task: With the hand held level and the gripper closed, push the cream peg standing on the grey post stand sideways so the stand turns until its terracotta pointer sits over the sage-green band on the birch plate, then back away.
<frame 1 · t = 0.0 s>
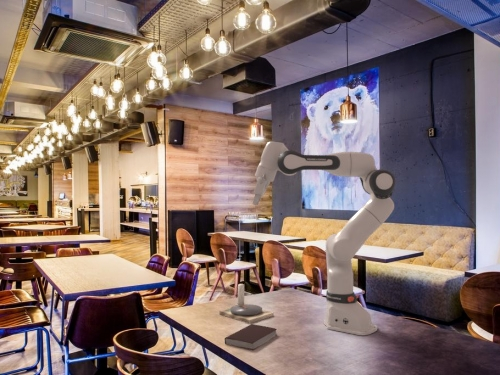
hand: (255, 204, 172), 52 cm above the table, tool tilted 20°, fingers open, 8 cm apart
grey post stand: (245, 298, 183), point 8 cm above the table, hinge at -20.0°
book: (251, 340, 150), on the table
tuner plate: (246, 315, 181), on the table
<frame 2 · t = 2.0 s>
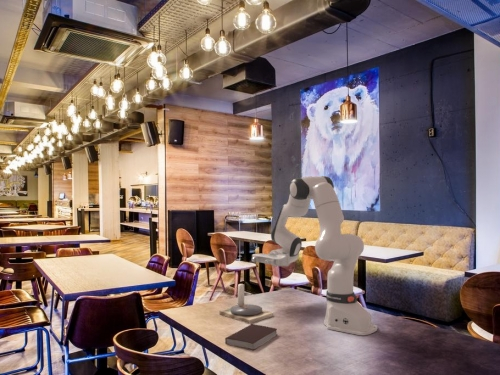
hand: (259, 261, 197), 23 cm above the table, tool horizontal, fingers open, 8 cm apart
nothing on the table moved.
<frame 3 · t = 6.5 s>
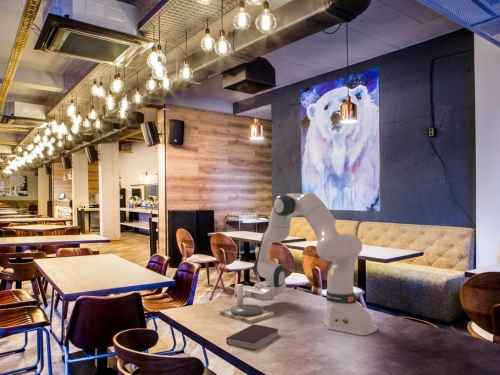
hand: (241, 295, 188), 7 cm above the table, tool horizontal, fingers closed, pressing on grey post stand
grey post stand: (245, 298, 183), point 8 cm above the table, hinge at -14.7°, touching gripper
everything else where it was.
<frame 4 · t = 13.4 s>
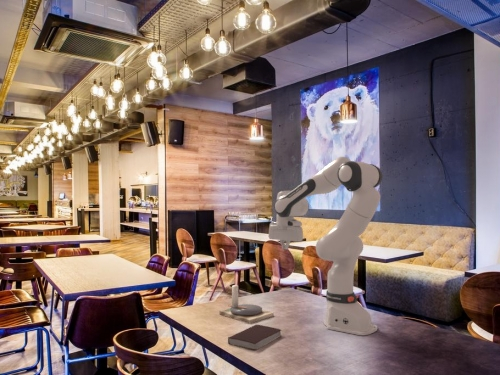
hand: (285, 249, 197), 29 cm above the table, tool pointing down, fingers closed
grey post stand: (244, 298, 182), point 8 cm above the table, hinge at 17.9°
at the end: grey post stand at +18° (first picture: -20°); the gripper is holding nothing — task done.
